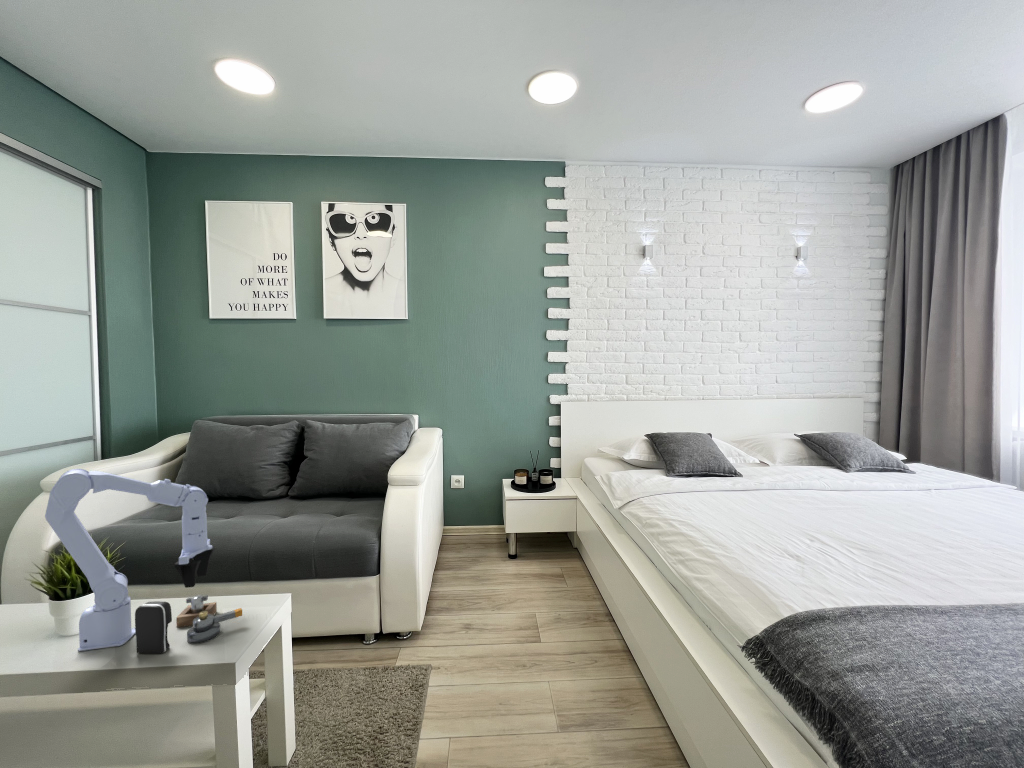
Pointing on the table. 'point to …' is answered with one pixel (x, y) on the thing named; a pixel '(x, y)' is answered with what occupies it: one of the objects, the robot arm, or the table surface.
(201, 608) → the key
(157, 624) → the battery charger
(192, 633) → the base
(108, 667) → the table surface
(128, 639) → the robot arm
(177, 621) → the holder
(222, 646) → the table surface
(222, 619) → the collar
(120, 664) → the table surface
